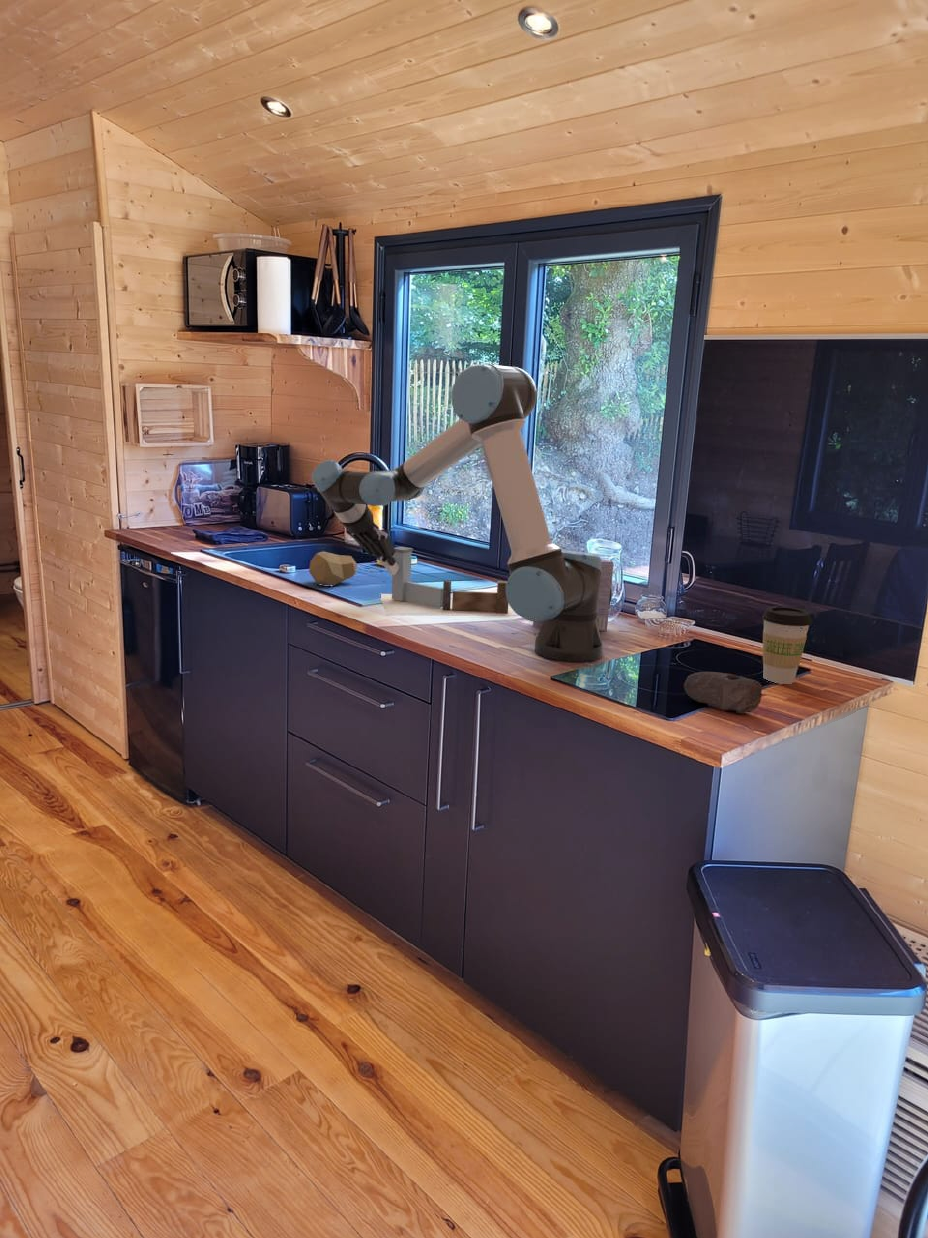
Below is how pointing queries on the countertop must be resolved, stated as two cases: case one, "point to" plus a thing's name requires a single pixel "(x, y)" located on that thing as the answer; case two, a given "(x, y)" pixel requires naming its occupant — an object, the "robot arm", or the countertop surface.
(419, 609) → the board
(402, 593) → the grey wall with post
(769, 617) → the coffee cup
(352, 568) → the low-poly potato
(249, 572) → the countertop surface
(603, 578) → the cake pan box
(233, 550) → the countertop surface
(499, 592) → the fixed fence rail
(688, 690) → the perforated stone tool
